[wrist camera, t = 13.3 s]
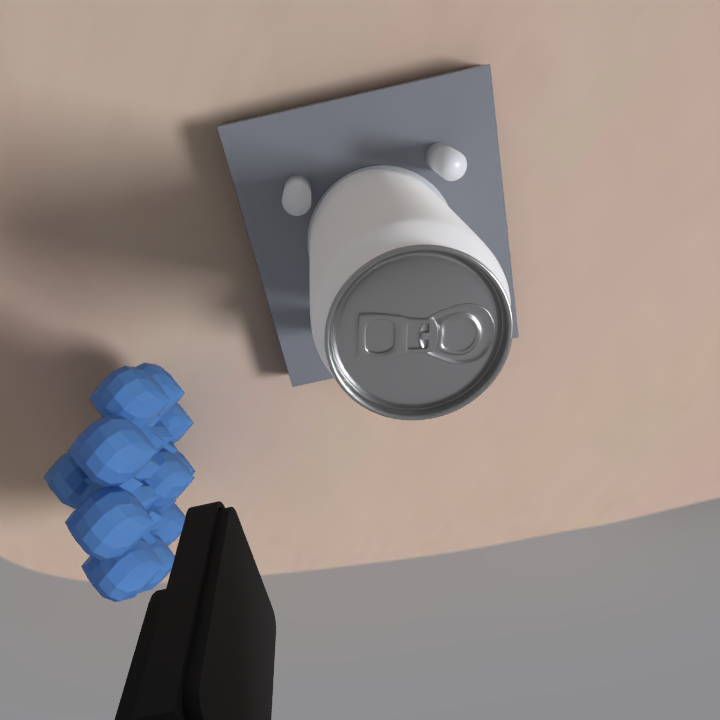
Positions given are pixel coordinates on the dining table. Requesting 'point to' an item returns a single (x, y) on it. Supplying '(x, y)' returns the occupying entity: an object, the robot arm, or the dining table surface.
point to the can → (405, 298)
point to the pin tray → (353, 155)
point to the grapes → (127, 481)
